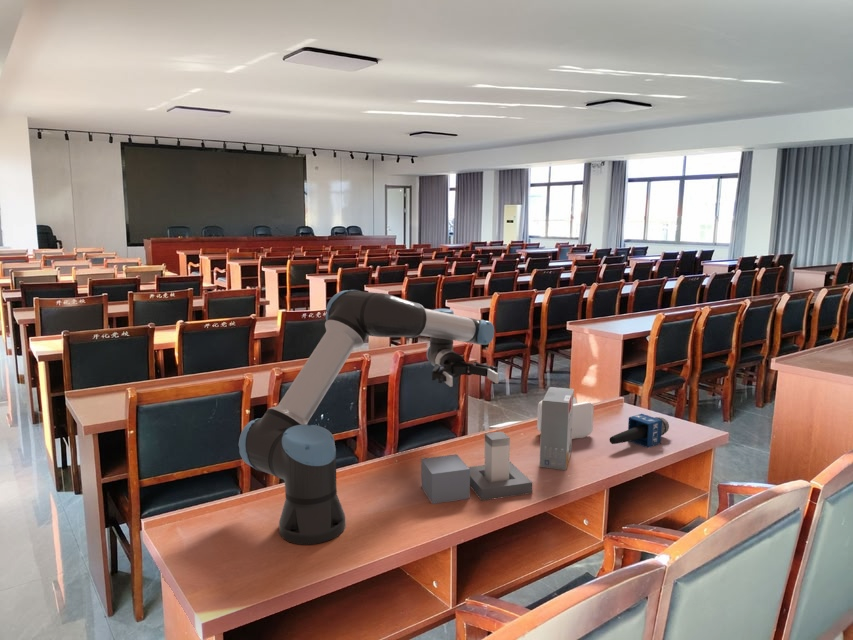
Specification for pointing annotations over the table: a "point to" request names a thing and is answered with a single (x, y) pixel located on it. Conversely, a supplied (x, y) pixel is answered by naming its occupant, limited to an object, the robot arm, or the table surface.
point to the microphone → (642, 431)
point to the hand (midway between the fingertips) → (474, 380)
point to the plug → (497, 456)
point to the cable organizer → (575, 418)
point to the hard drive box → (556, 428)
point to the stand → (445, 478)
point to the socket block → (499, 483)
